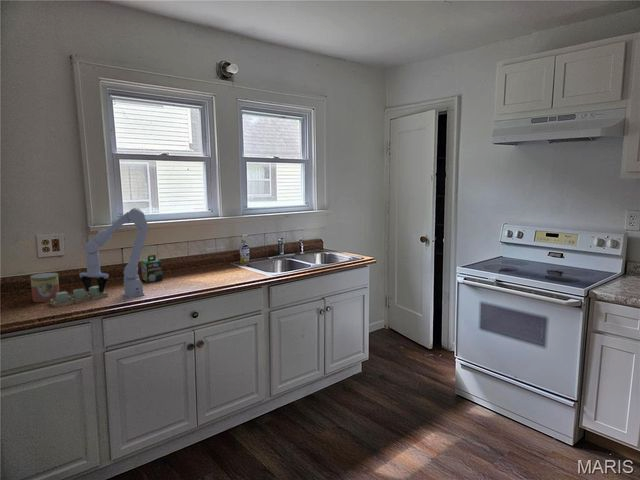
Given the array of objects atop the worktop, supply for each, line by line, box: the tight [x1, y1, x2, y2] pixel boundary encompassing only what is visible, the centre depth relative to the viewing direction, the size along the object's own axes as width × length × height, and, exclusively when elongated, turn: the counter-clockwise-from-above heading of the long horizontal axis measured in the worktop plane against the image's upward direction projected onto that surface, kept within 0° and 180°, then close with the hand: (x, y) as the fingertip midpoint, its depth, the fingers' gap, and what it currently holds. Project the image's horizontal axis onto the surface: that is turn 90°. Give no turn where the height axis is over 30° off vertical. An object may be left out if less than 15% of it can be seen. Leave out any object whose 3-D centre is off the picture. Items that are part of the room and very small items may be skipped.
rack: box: [49, 291, 109, 308], centre depth 200 cm, size 8×23×2 cm, turn 139°
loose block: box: [89, 285, 102, 296], centre depth 205 cm, size 4×4×5 cm
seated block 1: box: [56, 290, 70, 302], centre depth 194 cm, size 4×4×5 cm
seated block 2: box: [72, 288, 86, 299], centre depth 199 cm, size 4×4×5 cm
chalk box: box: [140, 254, 164, 283], centre depth 241 cm, size 9×9×15 cm
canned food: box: [30, 272, 60, 303], centre depth 200 cm, size 11×11×12 cm
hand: (95, 291), depth 205 cm, fingers open, 6 cm apart
